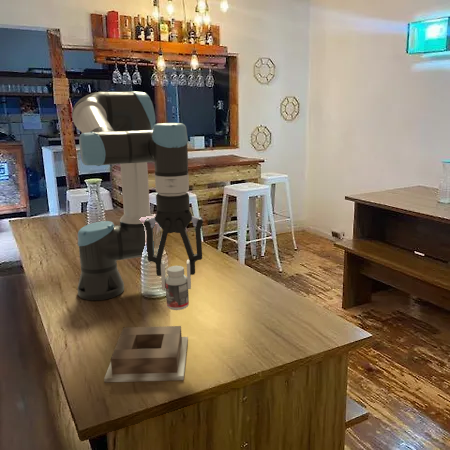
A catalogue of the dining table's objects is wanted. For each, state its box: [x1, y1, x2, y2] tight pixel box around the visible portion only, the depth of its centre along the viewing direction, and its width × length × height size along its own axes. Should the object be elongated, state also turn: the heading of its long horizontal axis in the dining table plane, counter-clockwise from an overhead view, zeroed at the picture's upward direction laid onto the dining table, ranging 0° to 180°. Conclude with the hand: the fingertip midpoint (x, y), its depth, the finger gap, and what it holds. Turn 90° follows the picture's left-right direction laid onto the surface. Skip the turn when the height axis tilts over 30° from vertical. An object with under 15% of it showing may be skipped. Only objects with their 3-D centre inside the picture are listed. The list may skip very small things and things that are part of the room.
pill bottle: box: [165, 265, 190, 311], centre depth 109 cm, size 5×5×10 cm
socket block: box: [103, 325, 189, 383], centre depth 111 cm, size 18×18×5 cm
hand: (176, 287), depth 109 cm, fingers closed on pill bottle, 5 cm apart
